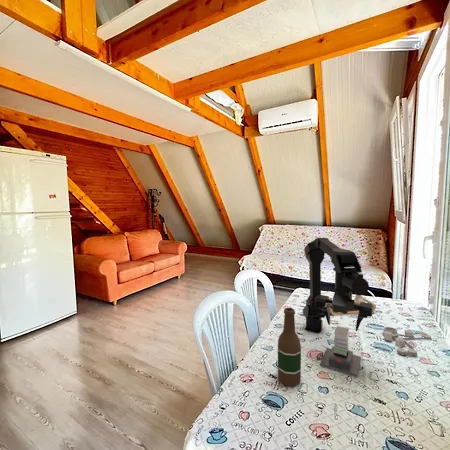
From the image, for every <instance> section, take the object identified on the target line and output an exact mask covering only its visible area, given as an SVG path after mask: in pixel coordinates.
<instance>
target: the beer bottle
mask: <svg viewBox="0 0 450 450" xmlns="http://www.w3.org/2000/svg"><path fill="white" fill-rule="evenodd" d="M283 314H284V319H283V330H282V332H281V333H280V334H279V337H278V340H277V379H278V380H277V381H278V382H279V383H280V382H281V384H282V385H283V386H285V387H291V388H293V387H294V388H295V387H297V386H298V385H299V384H301V380H302V379H301V378H302V377H301V376H302V346H301V342H300V338H299V335H298V334H297V333H296V325H295V324H296V322H295V321H296V320H295V314H296V311H295V309H294V308H292V307H285V308H284V310H283Z"/></svg>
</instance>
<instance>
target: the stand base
mask: <svg viewBox="0 0 450 450" xmlns="http://www.w3.org/2000/svg"><path fill="white" fill-rule="evenodd" d="M361 361H362V356H360V355H355V354H354V351H352V350H349V349H348V352H347V355H346V356H345V355H341V354H338V353H334V345H332V347H331V348H329V347H326V349H325V351H324V353H323V356H322V358H321V360H320V362H319V366H320V367H323V368H326V369H329V370H332V371H335V372H339V373H342V374H345V375H348V376H351V377H355V378H358V376H359V372H360V371H359V370H360V365H361Z"/></svg>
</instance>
